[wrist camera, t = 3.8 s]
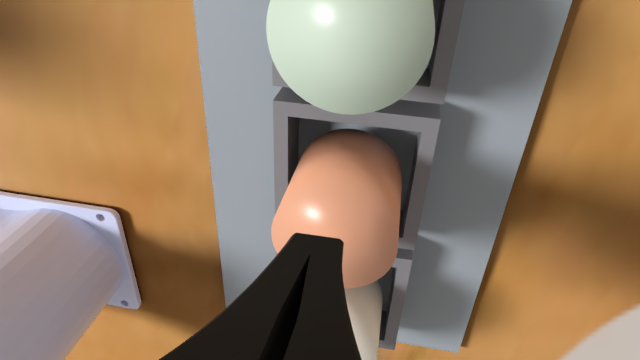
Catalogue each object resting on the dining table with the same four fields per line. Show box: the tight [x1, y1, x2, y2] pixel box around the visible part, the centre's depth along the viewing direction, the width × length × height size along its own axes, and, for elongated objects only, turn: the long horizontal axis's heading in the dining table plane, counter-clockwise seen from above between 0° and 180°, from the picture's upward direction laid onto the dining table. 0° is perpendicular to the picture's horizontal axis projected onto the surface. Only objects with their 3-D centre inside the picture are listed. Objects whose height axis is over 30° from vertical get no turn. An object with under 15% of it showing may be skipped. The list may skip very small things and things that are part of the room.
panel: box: [193, 0, 573, 353], centre depth 20 cm, size 14×24×3 cm, turn 178°
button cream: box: [344, 280, 383, 360], centre depth 21 cm, size 4×4×4 cm
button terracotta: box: [271, 129, 403, 289], centre depth 17 cm, size 4×4×4 cm
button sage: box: [266, 0, 435, 115], centre depth 14 cm, size 4×4×4 cm
